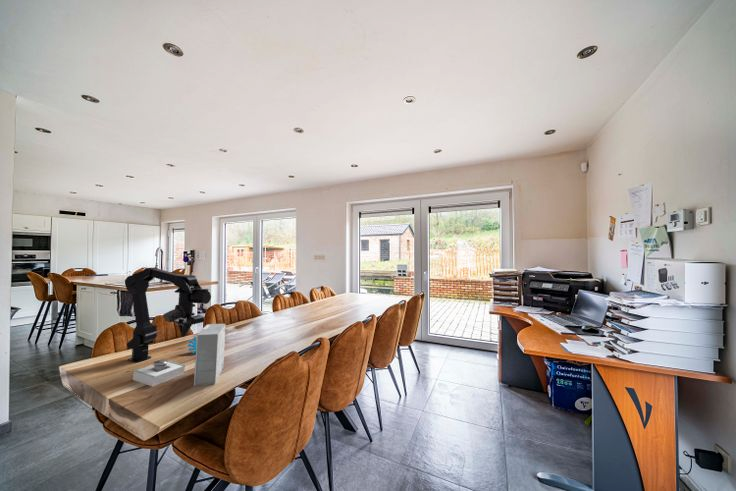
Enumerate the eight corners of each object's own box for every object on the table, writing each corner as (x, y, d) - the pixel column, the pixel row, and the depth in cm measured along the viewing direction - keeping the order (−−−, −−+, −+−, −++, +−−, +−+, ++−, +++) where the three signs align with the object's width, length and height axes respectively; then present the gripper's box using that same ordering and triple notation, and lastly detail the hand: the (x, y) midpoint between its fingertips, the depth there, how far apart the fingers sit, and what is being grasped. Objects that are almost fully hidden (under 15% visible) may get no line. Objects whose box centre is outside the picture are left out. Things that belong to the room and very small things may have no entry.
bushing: (149, 377, 108) (150, 362, 108) (161, 373, 112) (163, 358, 112) (157, 380, 106) (158, 365, 106) (169, 375, 110) (170, 360, 110)
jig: (133, 379, 105) (133, 370, 106) (165, 368, 117) (166, 359, 117) (152, 386, 101) (153, 376, 101) (184, 374, 112) (184, 365, 112)
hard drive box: (204, 369, 117) (207, 323, 118) (223, 368, 120) (226, 323, 120) (192, 386, 103) (196, 334, 103) (215, 384, 105) (218, 333, 106)
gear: (186, 353, 130) (189, 334, 136) (184, 359, 133) (187, 340, 139) (212, 352, 136) (213, 334, 143) (209, 358, 139) (211, 340, 146)
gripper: (153, 302, 120) (151, 338, 119) (182, 307, 113) (179, 344, 113) (179, 299, 130) (176, 331, 130) (206, 303, 124) (204, 337, 123)
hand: (183, 336), depth 124 cm, fingers closed
